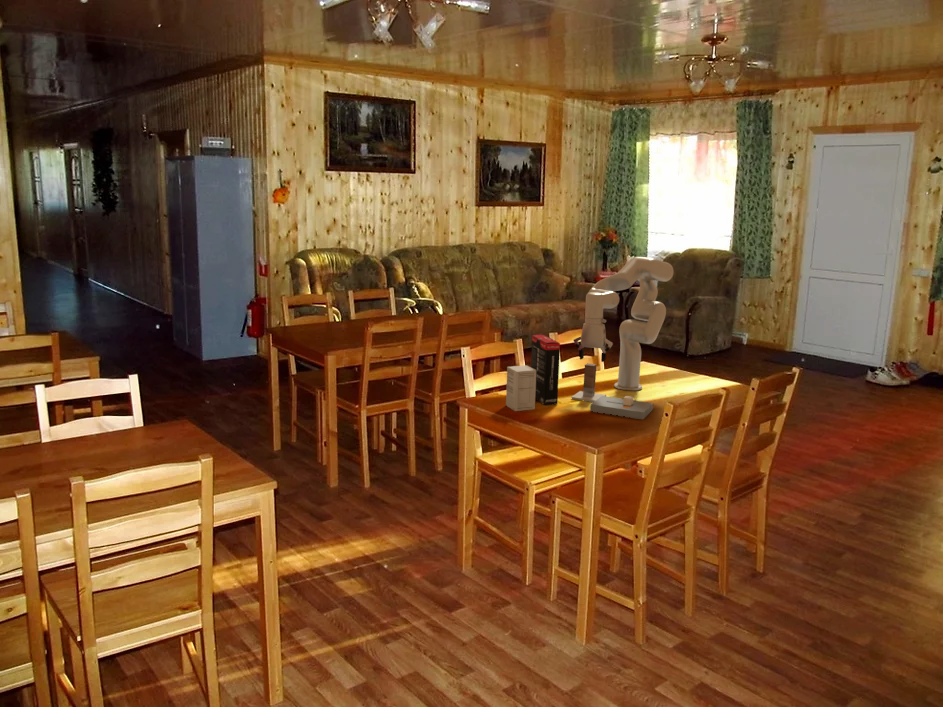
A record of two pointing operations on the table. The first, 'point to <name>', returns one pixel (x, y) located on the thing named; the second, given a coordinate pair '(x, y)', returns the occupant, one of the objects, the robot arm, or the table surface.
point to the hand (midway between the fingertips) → (592, 360)
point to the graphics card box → (545, 368)
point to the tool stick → (589, 380)
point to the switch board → (621, 407)
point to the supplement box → (521, 388)
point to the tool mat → (581, 397)
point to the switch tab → (628, 400)
